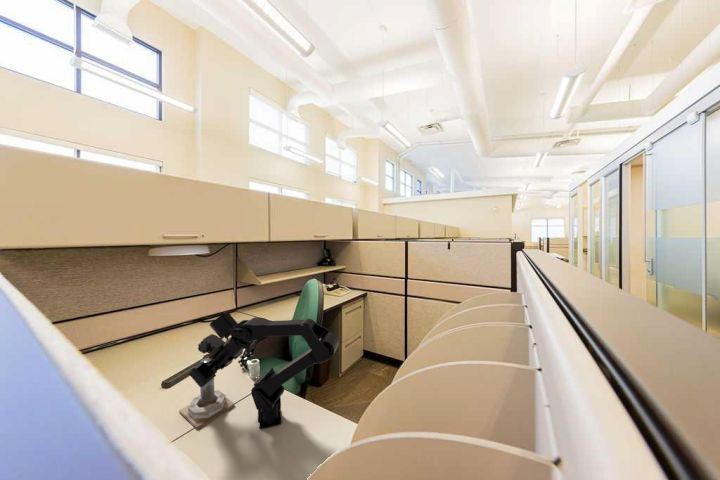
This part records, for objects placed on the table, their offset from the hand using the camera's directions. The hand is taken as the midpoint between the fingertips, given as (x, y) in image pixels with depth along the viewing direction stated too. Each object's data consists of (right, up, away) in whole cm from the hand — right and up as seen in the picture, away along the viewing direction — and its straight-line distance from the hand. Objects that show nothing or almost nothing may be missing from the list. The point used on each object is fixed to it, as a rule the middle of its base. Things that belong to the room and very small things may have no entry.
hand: (203, 376), depth 85 cm
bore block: (+1, -12, +1) cm, 12 cm away
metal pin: (+1, -7, 0) cm, 7 cm away
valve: (+7, -10, +22) cm, 25 cm away
